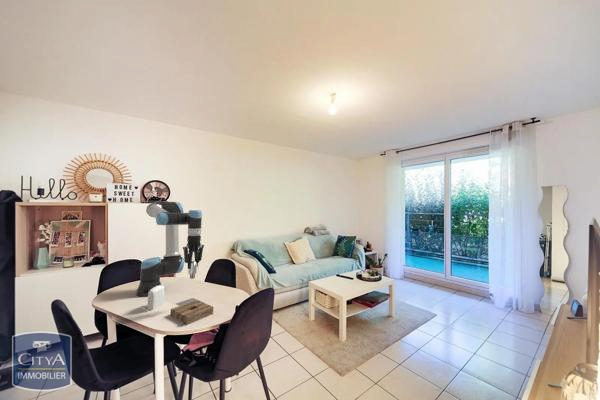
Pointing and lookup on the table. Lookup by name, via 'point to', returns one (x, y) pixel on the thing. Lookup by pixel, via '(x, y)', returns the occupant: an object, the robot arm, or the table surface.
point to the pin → (193, 270)
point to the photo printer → (155, 297)
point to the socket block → (191, 311)
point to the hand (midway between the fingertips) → (192, 273)
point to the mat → (187, 301)
